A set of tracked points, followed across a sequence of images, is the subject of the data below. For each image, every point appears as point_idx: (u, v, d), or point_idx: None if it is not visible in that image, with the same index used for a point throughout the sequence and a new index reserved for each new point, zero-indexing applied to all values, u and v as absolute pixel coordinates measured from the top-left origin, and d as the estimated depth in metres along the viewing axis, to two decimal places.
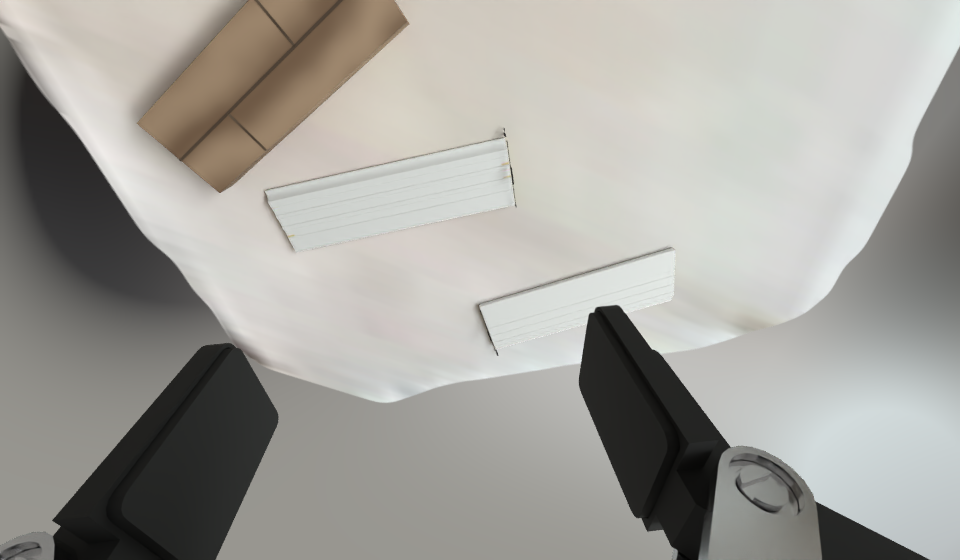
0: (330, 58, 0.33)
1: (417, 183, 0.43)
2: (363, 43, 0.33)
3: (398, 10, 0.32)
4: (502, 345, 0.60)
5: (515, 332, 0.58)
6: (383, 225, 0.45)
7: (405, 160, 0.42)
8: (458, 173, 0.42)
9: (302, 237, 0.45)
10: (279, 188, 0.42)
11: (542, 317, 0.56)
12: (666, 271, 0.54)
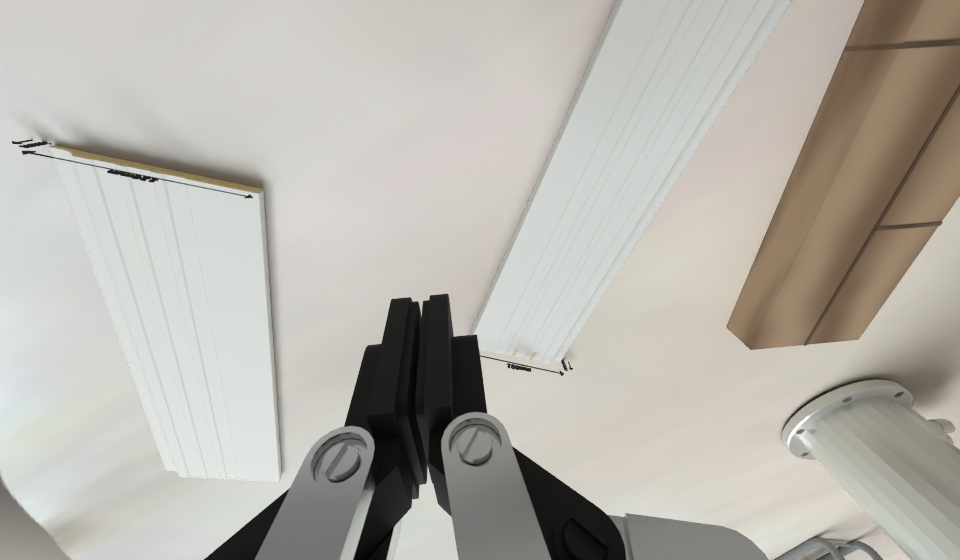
0: (822, 259, 0.23)
1: (600, 239, 0.23)
2: (787, 301, 0.25)
3: (763, 347, 0.27)
4: (69, 173, 0.19)
5: (129, 232, 0.20)
6: (586, 128, 0.19)
7: (637, 238, 0.24)
8: (565, 300, 0.26)
9: None
10: None
11: (175, 303, 0.23)
12: (239, 472, 0.34)
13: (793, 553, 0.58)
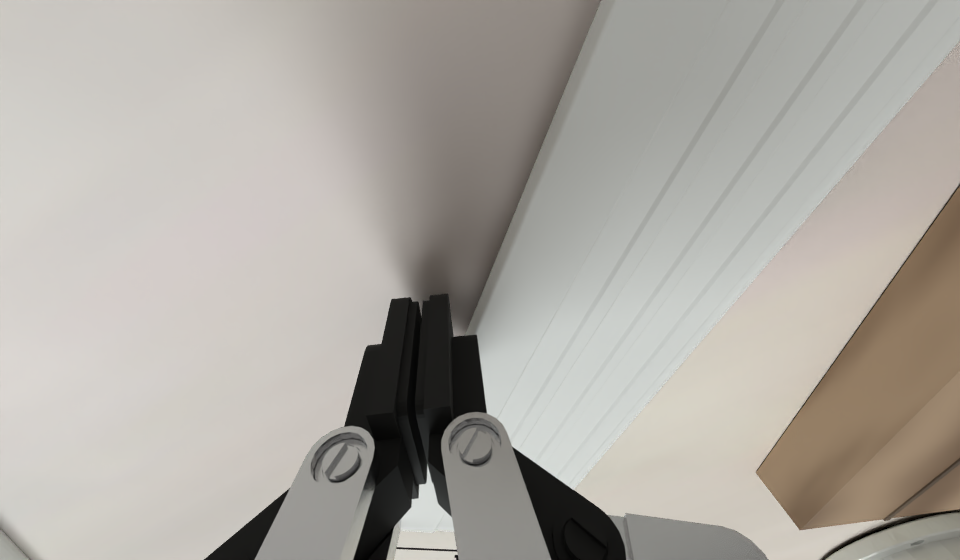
0: (948, 425, 0.13)
1: (601, 391, 0.13)
2: (873, 477, 0.14)
3: (821, 525, 0.17)
4: None
5: None
6: (568, 220, 0.09)
7: (665, 379, 0.14)
8: None
9: None
10: None
11: None
12: None
13: None
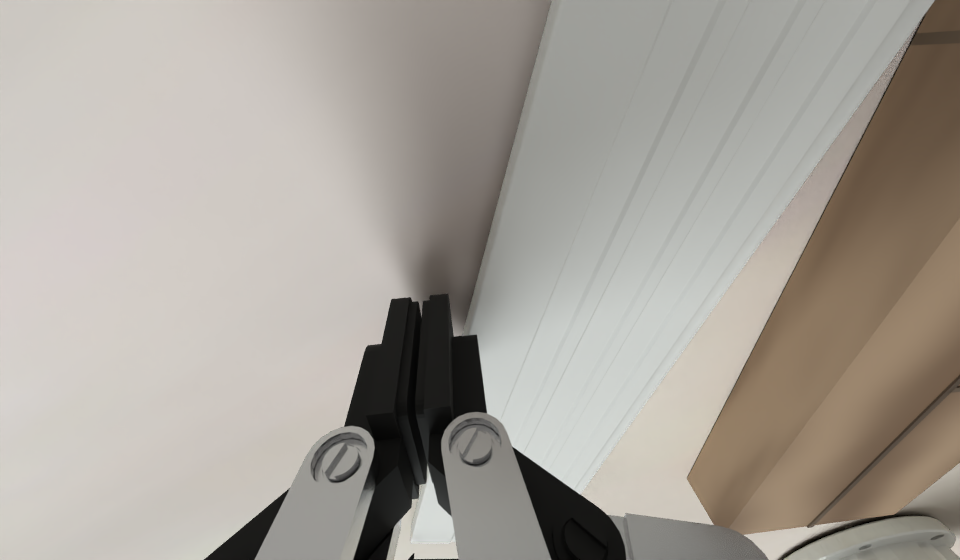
0: (844, 434, 0.12)
1: (586, 410, 0.14)
2: (782, 485, 0.14)
3: (742, 533, 0.17)
4: None
5: None
6: (526, 271, 0.10)
7: (649, 393, 0.14)
8: None
9: None
10: None
11: None
12: None
13: None
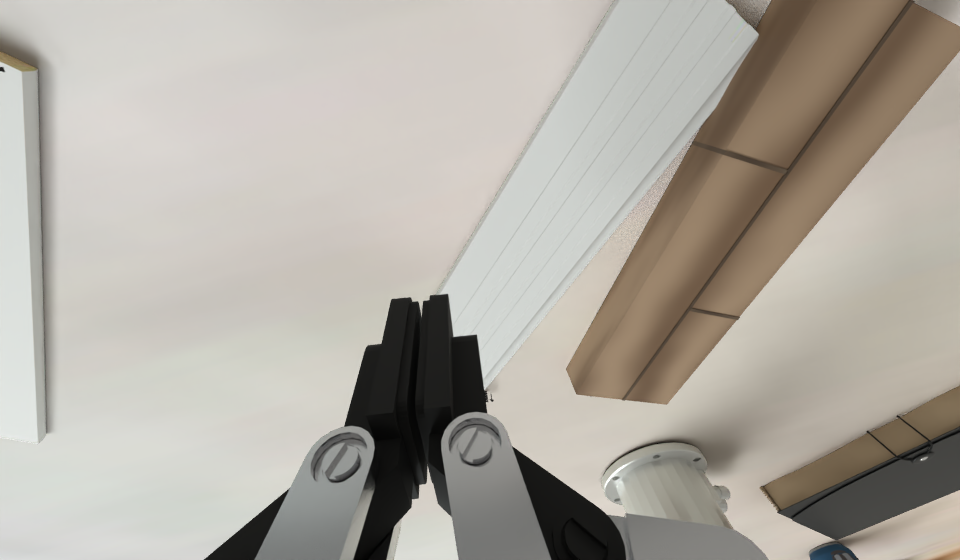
0: (644, 325, 0.25)
1: (529, 289, 0.25)
2: (612, 356, 0.27)
3: (588, 394, 0.29)
4: None
5: None
6: (524, 190, 0.21)
7: (563, 292, 0.26)
8: (492, 338, 0.27)
9: (661, 3, 0.17)
10: None
11: None
12: None
13: None
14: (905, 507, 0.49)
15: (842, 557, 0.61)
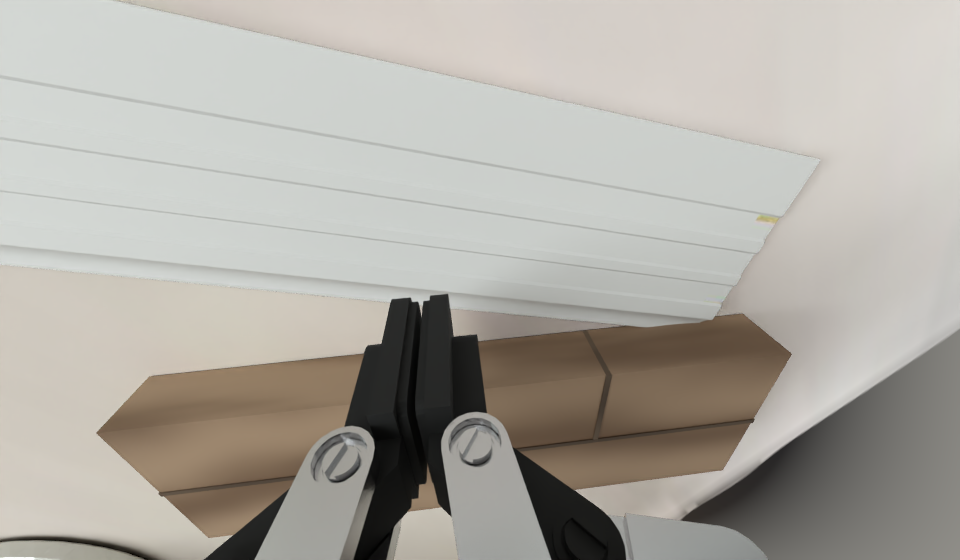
0: None
1: (274, 230, 0.12)
2: (233, 434, 0.14)
3: (117, 448, 0.14)
4: None
5: None
6: (467, 124, 0.10)
7: (307, 292, 0.14)
8: (90, 207, 0.11)
9: (748, 202, 0.13)
10: None
11: None
12: None
13: None
14: None
15: None
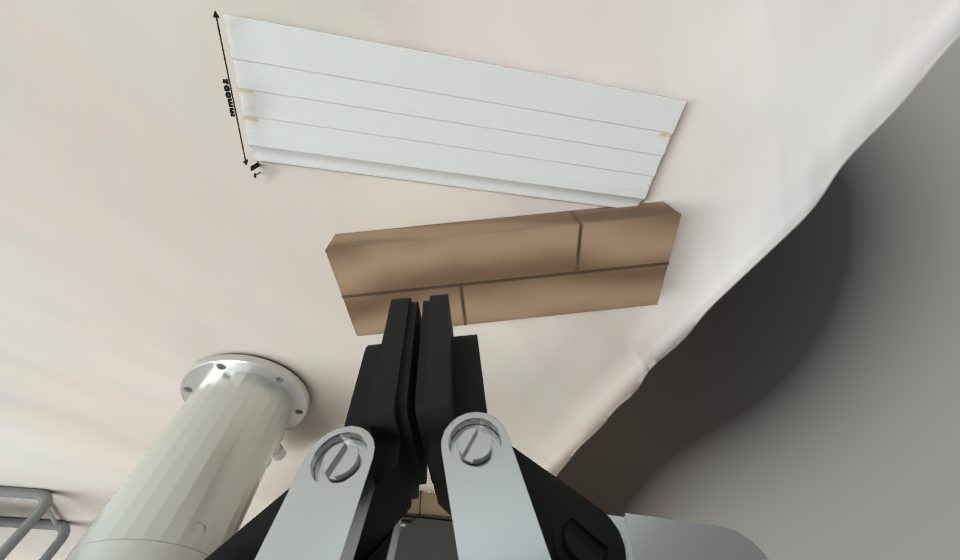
0: (431, 261, 0.28)
1: (419, 143, 0.25)
2: (387, 255, 0.27)
3: (331, 261, 0.27)
4: None
5: None
6: (511, 88, 0.23)
7: (427, 181, 0.27)
8: (342, 133, 0.24)
9: (652, 125, 0.25)
10: (616, 206, 0.29)
11: None
12: None
13: None
14: None
15: None
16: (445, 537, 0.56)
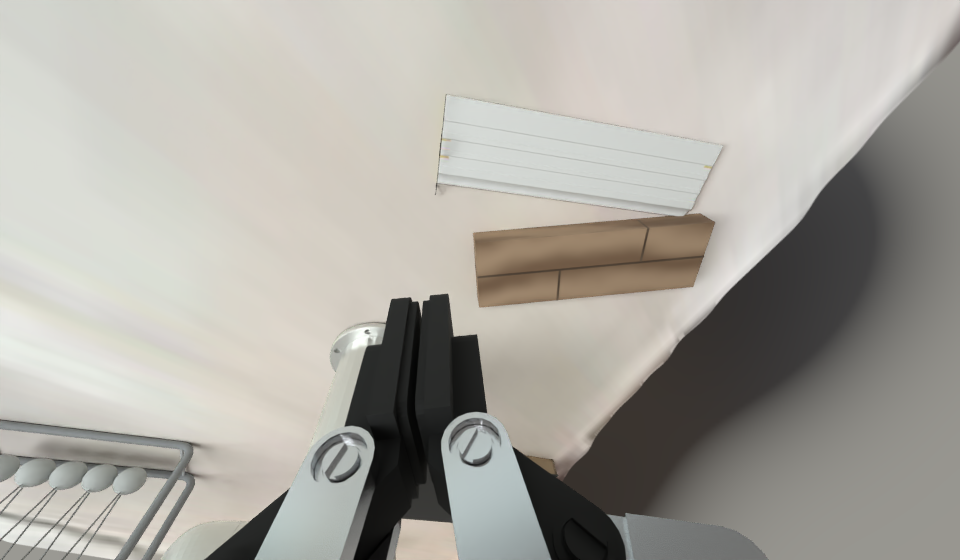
0: (544, 252, 0.40)
1: (547, 172, 0.37)
2: (515, 247, 0.39)
3: (476, 251, 0.39)
4: None
5: None
6: (612, 138, 0.35)
7: (546, 197, 0.39)
8: (500, 165, 0.36)
9: (700, 160, 0.38)
10: (670, 214, 0.41)
11: None
12: None
13: (151, 440, 0.54)
14: (416, 513, 0.69)
15: None
16: None
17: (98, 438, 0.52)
